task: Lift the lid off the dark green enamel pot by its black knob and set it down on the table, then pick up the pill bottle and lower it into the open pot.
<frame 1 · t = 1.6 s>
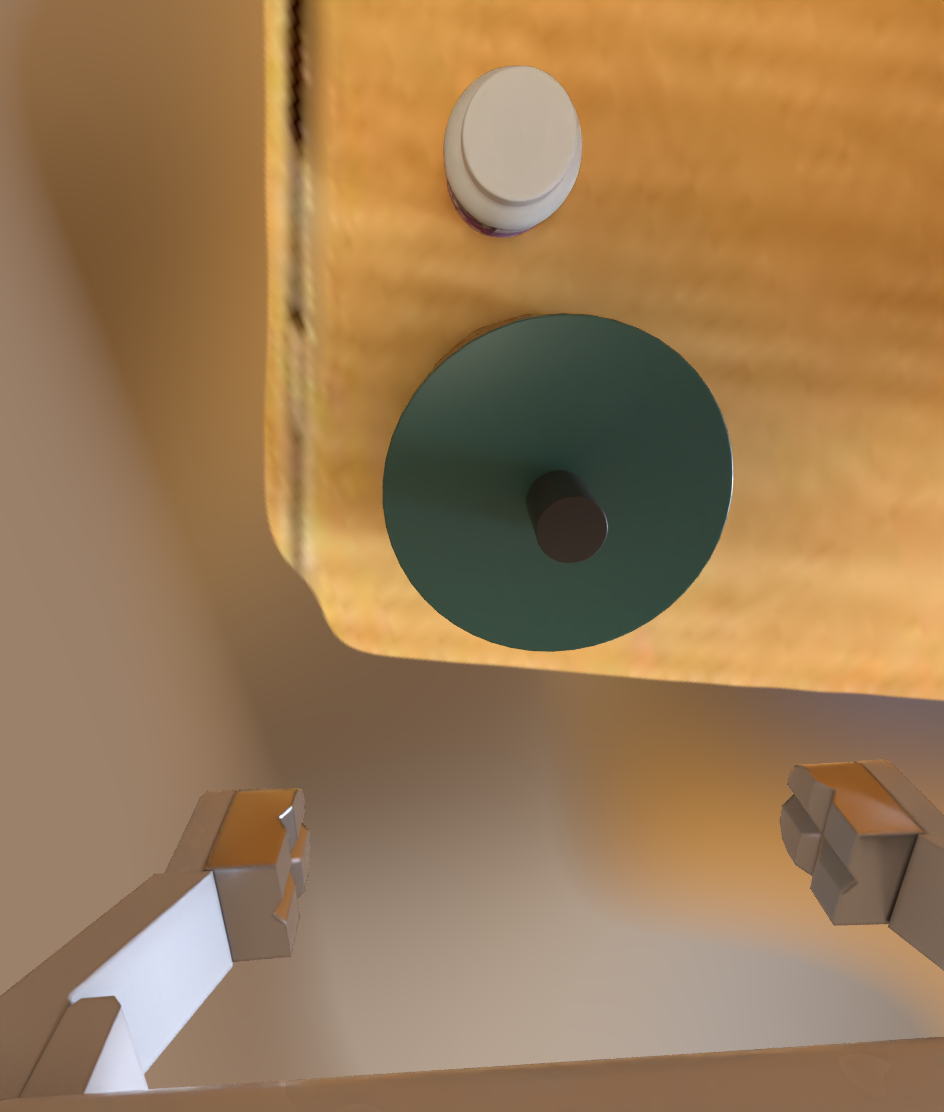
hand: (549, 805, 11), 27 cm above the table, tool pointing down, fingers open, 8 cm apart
pot: (531, 444, 36), on the table
lid: (556, 496, 27), point 9 cm above the table, touching pot
pill bottle: (501, 178, 31), on the table
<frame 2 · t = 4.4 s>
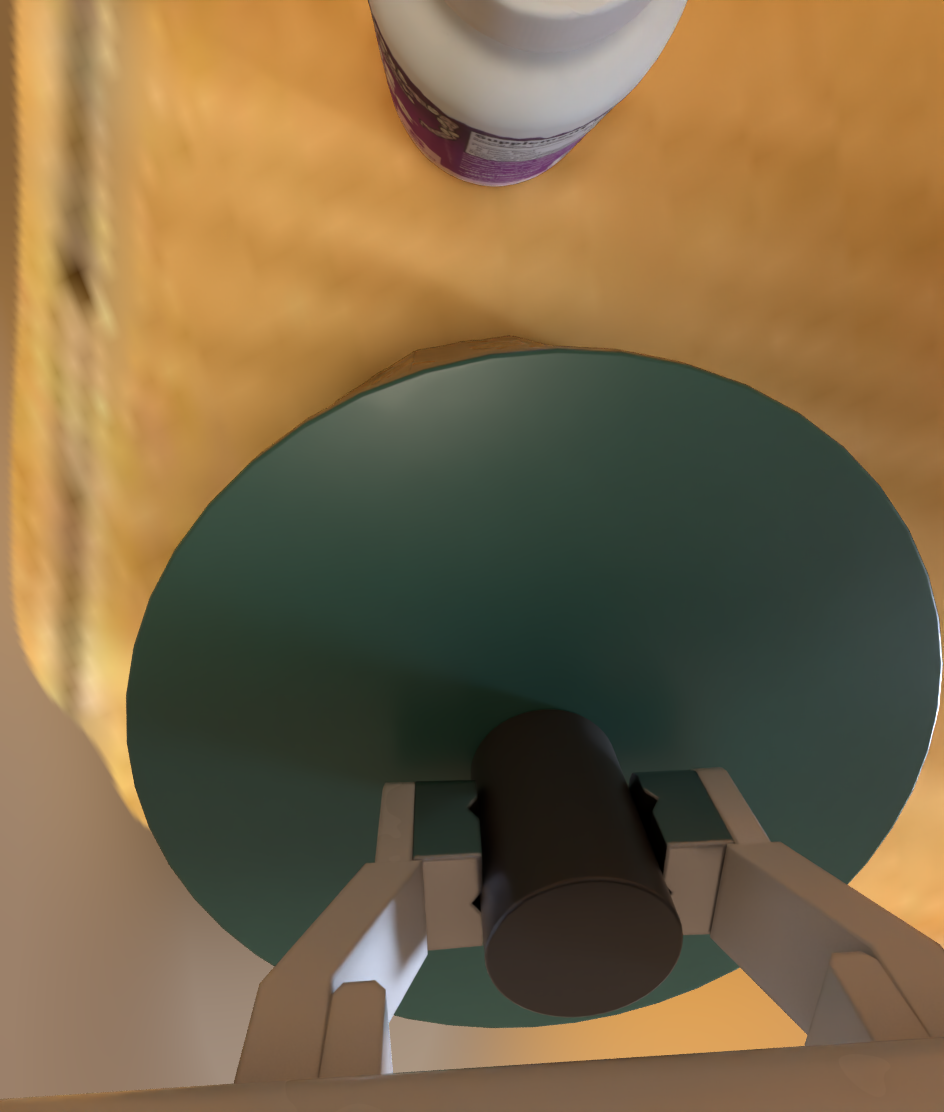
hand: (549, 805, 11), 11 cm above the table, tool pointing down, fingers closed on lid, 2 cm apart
pot: (493, 556, 21), on the table
lid: (538, 746, 12), point 10 cm above the table, touching gripper, pot
pill bottle: (492, 71, 16), on the table
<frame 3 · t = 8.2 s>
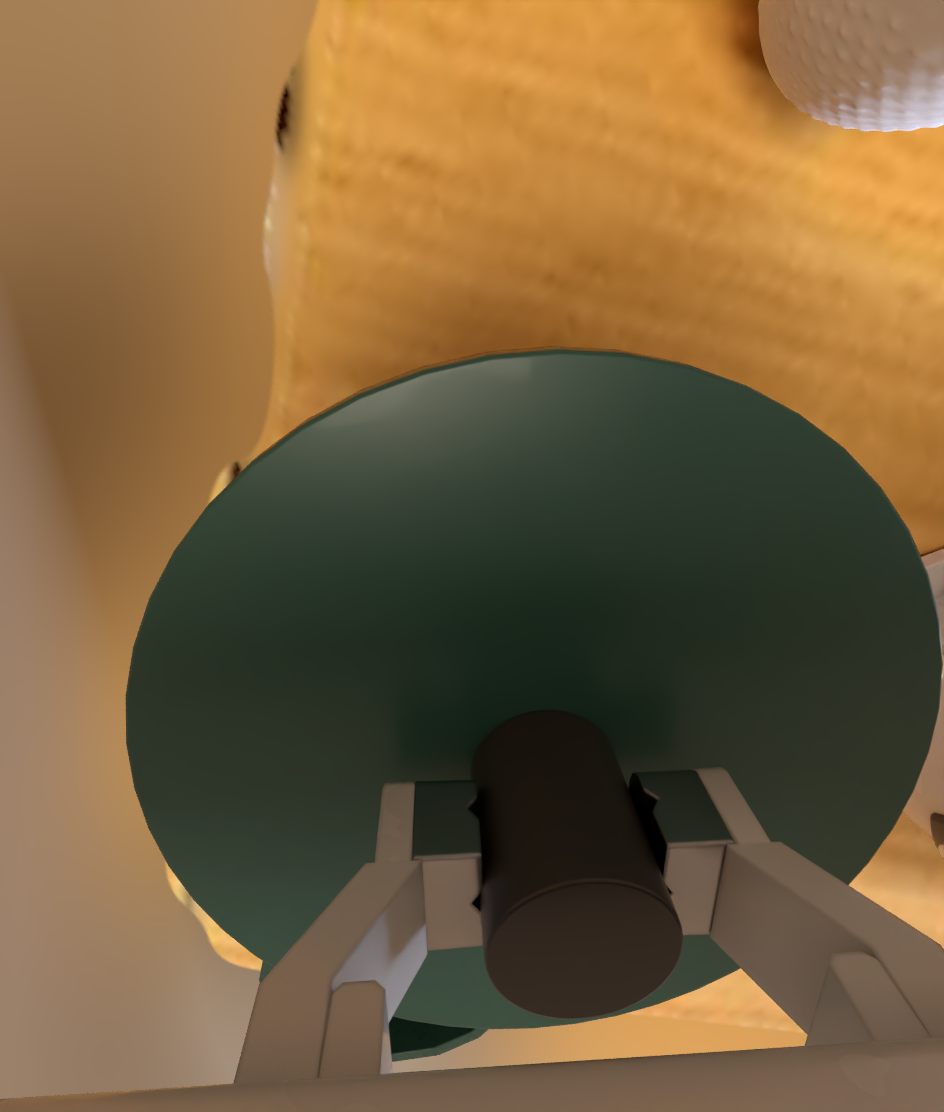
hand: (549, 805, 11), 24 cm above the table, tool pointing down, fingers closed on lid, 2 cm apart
pot: (401, 836, 42), on the table
lid: (537, 747, 12), point 23 cm above the table, touching gripper
mug: (857, 28, 27), on the table
when the fingers open (2 cm above the table, at t = 12.4 s): lid stays where it is, point 1 cm above the table.
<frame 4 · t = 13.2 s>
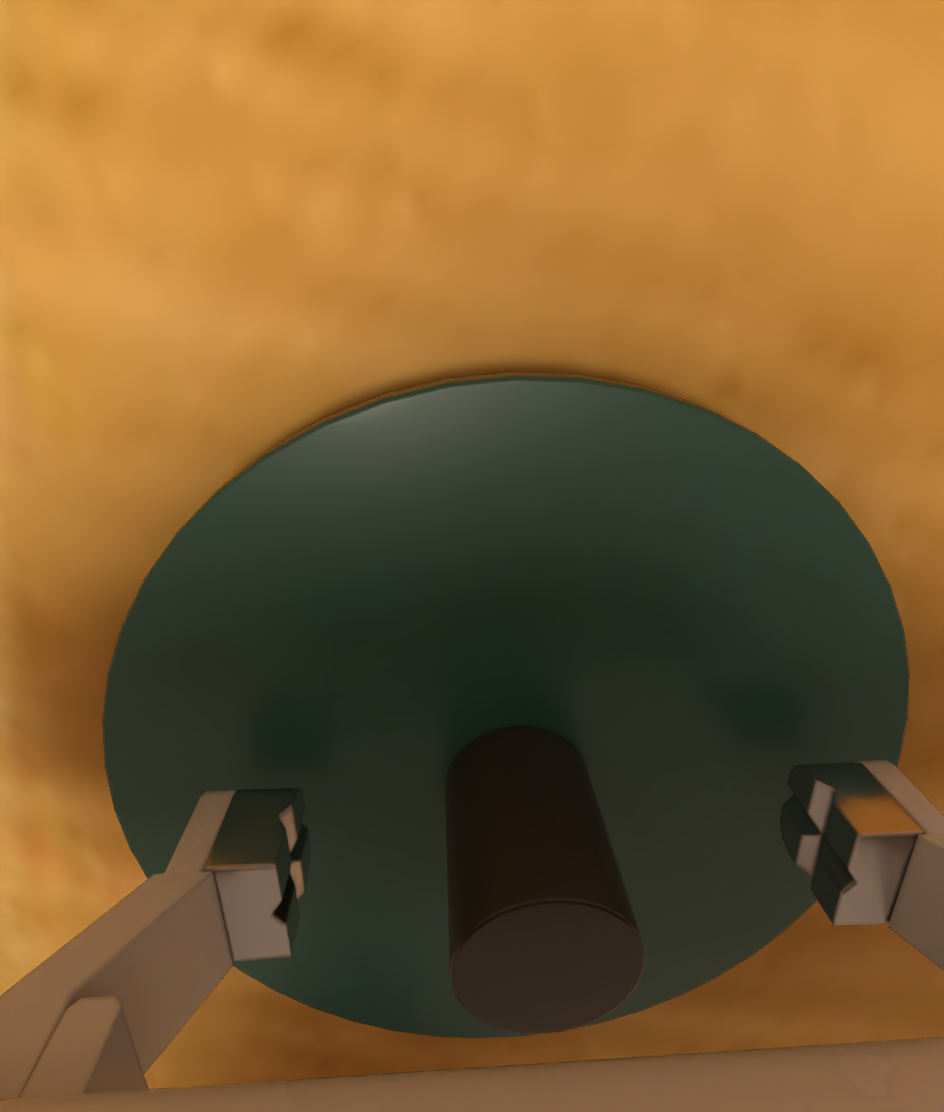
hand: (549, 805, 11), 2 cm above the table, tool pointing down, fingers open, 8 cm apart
lid: (512, 762, 12), point 1 cm above the table
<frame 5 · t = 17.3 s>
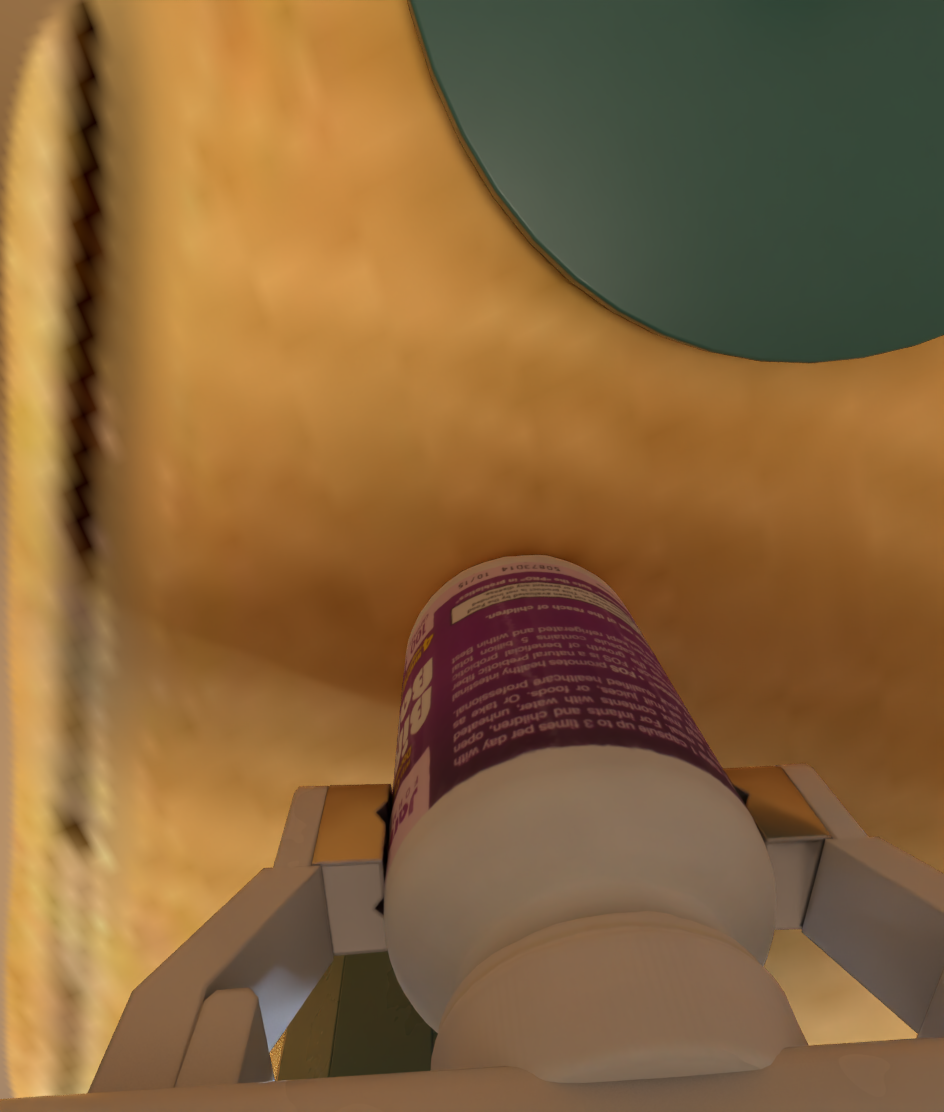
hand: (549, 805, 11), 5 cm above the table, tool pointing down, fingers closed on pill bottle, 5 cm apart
pot: (511, 1020, 20), on the table
pill bottle: (517, 650, 15), on the table, touching gripper
when the fingers open (6 cm above the table, at t = 26.5 s): pill bottle stays where it is, resting on pot.
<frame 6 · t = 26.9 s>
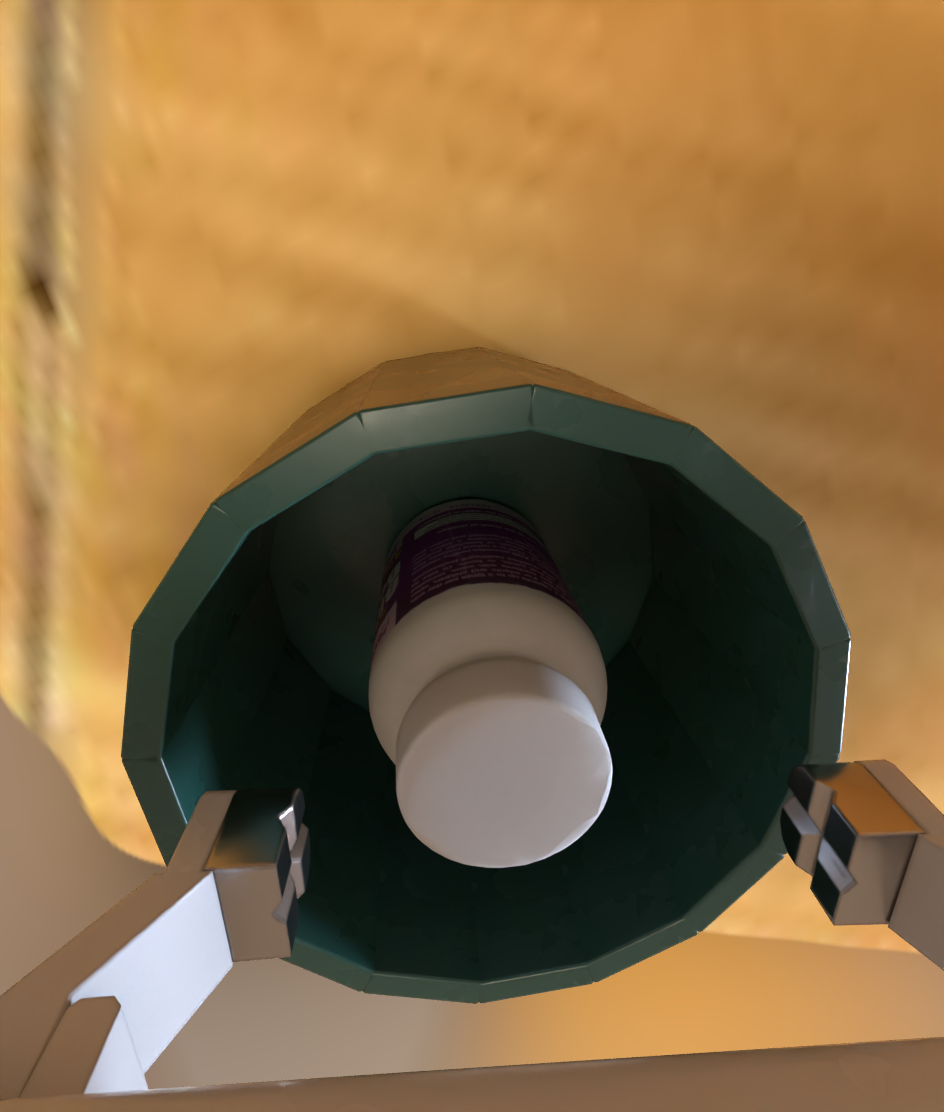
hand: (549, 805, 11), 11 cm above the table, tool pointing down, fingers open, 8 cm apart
pot: (465, 566, 21), on the table
pill bottle: (466, 574, 21), resting on pot
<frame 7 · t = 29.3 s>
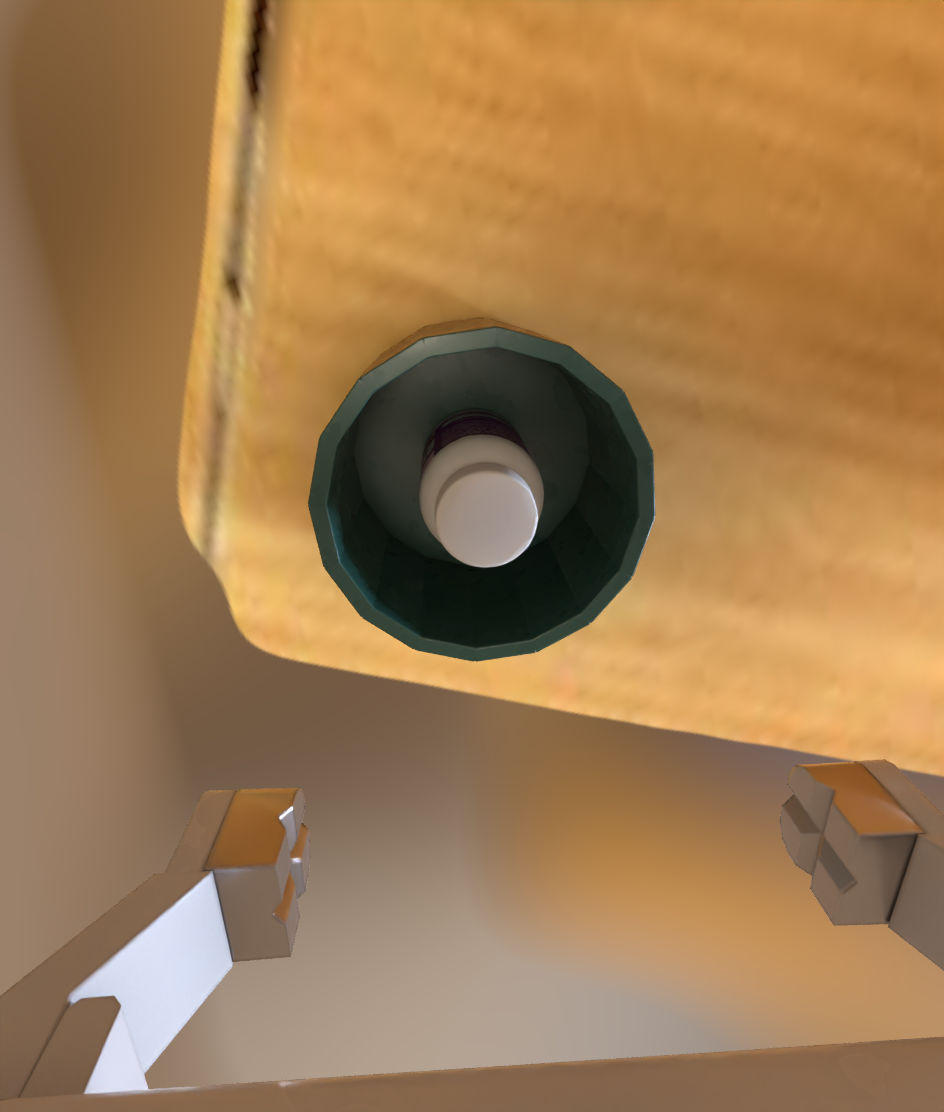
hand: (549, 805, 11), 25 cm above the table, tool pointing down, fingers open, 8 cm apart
pot: (472, 454, 34), on the table
pill bottle: (472, 458, 34), resting on pot
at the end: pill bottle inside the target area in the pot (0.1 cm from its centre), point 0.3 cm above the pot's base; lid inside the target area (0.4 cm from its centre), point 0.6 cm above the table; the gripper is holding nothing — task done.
